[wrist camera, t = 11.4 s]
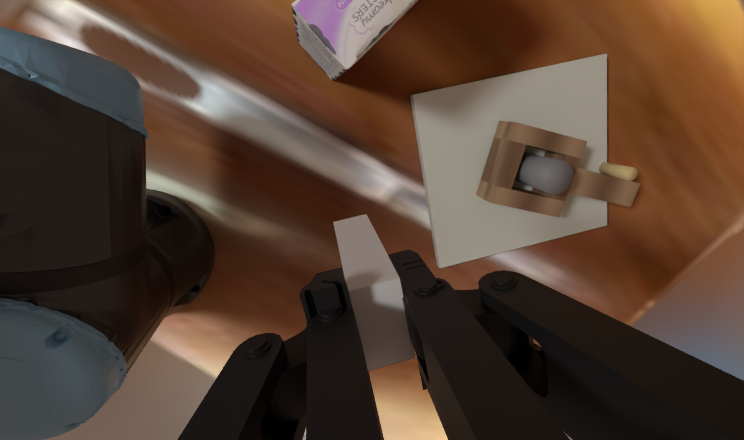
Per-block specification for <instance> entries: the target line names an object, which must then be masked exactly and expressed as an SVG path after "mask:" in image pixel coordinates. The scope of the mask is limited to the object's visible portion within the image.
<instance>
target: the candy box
mask: <svg viewBox="0 0 744 440" xmlns="http://www.w3.org/2000/svg"><path fill="white" fill-rule="evenodd" d="M417 1H418V0H296V1H295V2H294V3H293V4H292V10H293V16H294V22H295V27H296V33H297V39H298V42H299V44H300V45H301V46H302V47H303V48H304V49H305V51H306V52H307V53H308V54H309V55H310V56H311V57H312V58H313V59H314V60H315V62H316V63H317V64H318V65H319V66H320V67H321V69H322V70H323V71H324V72H325V73H326V74H327V75H328V76H329V78H330V79H331V80H336V79H337V78H338V77H339V76H340V75H342V74H343V73H345V72H346V71H347V70H348V69H349V68H351V67H352V66H353V65H354V64H355V63H356V62H357V61H358V60H359V59H360V58H361V57H362V56H363V55H364V54H365V53H366V52H367V51H368V50H369V49H370V48H371V47H372V46H373V45H374V44H375V43H376V42H377V41H378V40H380V39H381V38H382V37H383V36H384V35H385V34H386V33H387V31H388V30H389V29H390V28H391V27H392V26H393V25H394V24H395V23H396V22H397V21H398V20H399V19H400V18H401V17H402V16H403V15H404V14H405V13H406V12H407V11H408V10H409V9H410V8H411V7H412V6H413V5H414V4H415V3H416V2H417Z"/></svg>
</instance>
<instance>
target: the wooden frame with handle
mask: <svg viewBox="0 0 744 440" xmlns="http://www.w3.org/2000/svg"><path fill="white" fill-rule="evenodd" d="M586 144H587V141H584V140H581V139H577V138H573V137H570V136H566V135H562V134H558V133H555V132H551V131H547V130H544V129H540V128H536V127H532V126H529V125H525V124H521V123H518V122H508V121H499V123H498V126H497V129H496V132H495V135H494V139H493V142H492V145H491V148H490V151H489V154H488V158H487V161H486V164H485V167H484V170H483V174H482V177H481V180H480V183H479V186H478V190H477V193H476V195H477V196H479V197H480V198H482V199H484V200H486V201H488V202H490V203H493V204H498V205H503V206H507V207H512V208H517V209H521V210H526V211H531V212H535V213H540V214H545V215H549V216H554V217H559V216H560V213H561V211H562V208H563V205H564V203H565V200H566V197H567V195H568V193H572V194H576V195H580V196H585V197H589V198H593V199H597V200H602V201H606V202H610V203H615V204H619V205H623V206H628V207H631V205H632V203H633V200H634V198H635V196H636V193H637V191H638V189H639V186H640V183H636V182H632V181H628V180H624V179H620V178H616V177H612V176H608V175H604V174H600V173H596V172H592V171H588V170H584V169H580V168H578V165H579V163H580V160H581V157H582V155H583V152H584V149H585V147H586ZM526 146H529V147H533V148H537V149H541V150H545V154H544V157H548V158H552V159H557V160H561V161H565V162H567V163H569V164H570V166H571V167H572V169H573V180H572V183H571V185H570V186H569V187H568V188H567V189H566V190H565V191H564V192H562V193H560V194H550V193H547V192H544V191H542V190H539V189H536V188H534V187H533V188H532V191H529V190H525V189H520V188H516V187H512V186H513V183H514V180H515V177H516V174H517V171H518V168H519V165H520V162H521V159H522V156H523V153H524V150H525V147H526Z"/></svg>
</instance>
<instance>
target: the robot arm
mask: <svg viewBox="0 0 744 440" xmlns="http://www.w3.org/2000/svg"><path fill="white" fill-rule="evenodd" d="M145 139H148V131H147V130H146V129H145V126H144V111H143V96H142V90H141V87H140V85H139V83H138V81H137V80H136V78H135V77H134V76H133V75H132V74H131V73H130V72H129V71H128V70H126V69H125V68H123V67H122V66H120V65H118V64H116V63H114V62H112V61H109V60H107V59H104V58H102V57H99V56H96V55H93V54H90V53H87V52H84V51H81V50H78V49H75V48H72V47H69V46H66V45H63V44H59V43H56V42H53V41H50V40H46V39H43V38H39V37H36V36H33V35H29V34H26V33H22V32H19V31H15V30H11V29H7V28H3V27H0V440H42V439H47V438H51V437H55V436H58V435H61V434H63V433H66V432H68V431H71V430H73V429H75V428H77V427H78V426H79V425H81V424H82V423H85V422H86V421H87V420H88V419H90V418H91V417H92V416H94V415H95V413H97V412H98V411H99V409H100V408H101V407H102V406H103V405H104V404H105V403H106V402H107V400H108V399H109V398H110V397H111V396H112V395H113V394H114V393H115V392H116V391H117V390H118V389H119V388H120V386H121V385H122V384H123V382H124V379H125V378H126V374H127V373H128V371H129V370H130V368H131V367H132V365H133V364H134V362H135V361H136V359H137V358H138V356H139V355H140V353H141V352H142V350H143V349H144V347H145V346H146V344H147V343H148V341H149V340H150V338H151V337H152V335H153V334H154V332H155V331H156V329H157V328H158V326H159V325H160V323H161V322H162V320H163V319H164V318H165V317H167V316H169V315H171V314H173V313H175V312H177V311H179V310H180V309H182V308H184V307H185V306H187V305H188V304H189V303H190V302H192V301H193V300H194V299H195V298H196V297H197V296H198V294H199V293H200V292H201V290H202V289H203V287H204V286H205V284H206V282H207V280H208V279H209V277H210V274H211V272H212V269H213V264H214V246H213V241H212V238H211V235H210V233H209V231H208V229H207V227H206V225H205V224H204V222H203V221H202V219H201V218H200V217H199V216H198V215H197V214H196V213H195V212H194V211H193V210H192V209H191V208H190V207H189V206H187V205H186V204H185V203H183V202H182V201H180V200H178V199H176V198H175V197H172V196H170V195H168V194H165V193H162V192H159V191H155V190H149V189H146V144H145ZM333 223H334V228H335V233H336V238H337V243H338V248H339V253H340V258H341V263H342V268H338V269H334V270H330V271H326V272H322V273H318V274H316V275H315V277H314V278H313V280H312V281H311V283H310V284H308V285H306V286H305V287H304V288H303V289H302V290H301V292H300V299H301V302H302V305H303V309H304V312H305V316H306V319H307V327H306V328H305V329H304V330H303V331H302V332H300V333H299V334H297V335H296V336H294V337H292V338H290V339H288V340H286V341H283V340H282V338H281V337H280V335H277V334H275V333H264V334H260V335H255V336H253V337H251V338H249V339H247V340H246V341H244V342H243V343H242V344H240V345H239V346H238V347H237V348H236V349H235V350H234V352H233V353H232V355H231V356H230V358H229V359H228V361H227V363H226V364H225V366H224V367H223V369H222V371H221V372H220V374H219V375H218V377H217V378H216V380H215V382H214V383H213V385H212V386H211V388H210V389H209V391H208V393H207V394H206V396H205V397H204V399H203V401H202V402H201V404H200V405H199V407H198V408H197V410H196V411H195V413H194V415H193V416H192V418H191V419H190V421H189V423H188V424H187V426H186V427H185V429H184V430H183V432H182V434H181V435H180V437H179V438H178V440H302V439H303V436H304V432H305V429H306V440H384V438H383V433H382V429H381V425H380V420H379V416H378V411H377V407H376V402H375V398H374V394H373V389H372V385H371V381H370V376H369V372H368V371H370V370H373V369H377V368H380V367H384V366H388V365H391V364H395V363H399V362H402V361H406V360H409V359H413V358H415V354H414V350H415V352H416V355H417V360H418V365H419V370H420V375H421V381H422V386H423V390H425V389H428V391H429V394H430V396H431V399H432V401H433V404H434V406H435V408H436V411H437V413H438V416H439V418H440V421H441V423H442V425H443V428H444V430H445V433H446V435H447V438H448V440H570V439H569V438H568V437H567V436H566V434H567V435H568V436H569V437H571V438H572V439H573V440H744V381H743V380H741V379H739V378H736V377H735V376H733V375H730V374H728V373H726V372H724V371H722V370H720V369H718V368H716V367H714V366H712V365H709V364H708V363H705V362H703V361H701V360H699V359H697V358H695V357H693V356H691V355H689V354H687V353H685V352H683V351H680V350H678V349H676V348H674V347H672V346H670V345H668V344H666V343H664V342H662V341H660V340H658V339H655V338H653V337H651V336H649V335H647V334H645V333H643V332H641V331H639V330H636V329H635V328H633V327H631V326H629V325H626V324H624V323H622V322H620V321H618V320H616V319H614V318H612V317H610V316H608V315H606V314H604V313H601V312H599V311H597V310H595V309H593V308H591V307H589V306H587V305H585V304H583V303H581V302H579V301H576V300H574V299H572V298H570V297H568V296H566V295H564V294H562V293H560V292H558V291H556V290H554V289H552V288H549V287H547V286H545V285H543V284H541V283H539V282H537V281H535V280H533V279H531V278H529V277H527V276H524V275H522V274H520V273H516V272H512V271H505V270H503V271H495V272H492V273H489V274H486V275H485V276H483V277H481V279H480V280H479V282H478V283H479V289H475V290H454V289H453V288H452V287H451V285H450V284H449V283H448V282H446V281H445V280H443V279H440V278H435V276H434V275H433V274H432V272H431V271H430V269H429V268H428V267H427V265H426V264H425V263H424V261H422V258H421V257H420V256H419V254H418V253H416V252H413V251H411V250H405V251H401V252H397V253H393V254H389V255H387V253H386V251H385V249H384V247H383V245H382V243H381V241H380V239H379V237H378V235H377V234H376V232H375V230H374V228H373V226H372V224H371V222H370V220H369V218H368V216H367V214H365V215H360V216H356V217H352V218H348V219H344V220H339V221H335V222H333ZM533 339H535V340H536V341H537V342H538V343H539V344H540V346H541V347H540V346H538V345H537V344H535V343H534V342H533ZM413 347H414V349H413ZM563 431H564V432H565V433H566V434H565V433H564V432H563Z"/></svg>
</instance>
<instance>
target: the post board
mask: <svg viewBox="0 0 744 440" xmlns="http://www.w3.org/2000/svg"><path fill="white" fill-rule="evenodd" d="M410 98H411V105H412V111H413V117H414V124H415V130H416V136H417V143H418V149H419V155H420V161H421V168H422V174H423V180H424V187H425V193H426V199H427V206H428V212H429V218H430V225H431V231H432V237H433V243H434V250H435V256H436V262H437V265H438V267H439V268H443V267H447V266H451V265H455V264H459V263H462V262H466V261H470V260H474V259H478V258H482V257H486V256H490V255H494V254H498V253H501V252H505V251H509V250H513V249H517V248H521V247H525V246H529V245H533V244H537V243H540V242H544V241H548V240H552V239H556V238H560V237H564V236H568V235H572V234H576V233H579V232H583V231H587V230H591V229H595V228H599V227H603V226H607V202H606V201H602V200H597V199H593V198H589V197H585V196H580V195H576V194H572V193H568V195H567V197H566V200H565V203H564V205H563V208H562V211H561V213H560V216H559V217H554V216H549V215H545V214H540V213H535V212H531V211H526V210H521V209H517V208H512V207H507V206H503V205H498V204H493V203H490V202H488V201H486V200H484V199H482V198H480V197H479V196H477V195H476V193H477V190H478V186H479V183H480V180H481V177H482V174H483V170H484V167H485V164H486V161H487V158H488V154H489V151H490V148H491V145H492V142H493V139H494V135H495V132H496V129H497V126H498V123H499V121H508V122H518V123H521V124H525V125H529V126H532V127H536V128H540V129H544V130H547V131H551V132H555V133H558V134H562V135H566V136H570V137H573V138H577V139H581V140H584V141H587V144H586V147H585V149H584V152H583V155H582V157H581V160H580V163H579V165H578V168H580V169H584V170H588V171H592V172H596V173H600V174H604V175H608V176H612V177H616V178H620V179H624V180H628V181H632V180H634V179H635V178H636V177H637V174H638V171H637V169H636V168H633V167H628V166H623V165H618V164H613V163H608V162H607V54H602V55H597V56H592V57H588V58H583V59H578V60H574V61H569V62H564V63H559V64H555V65H550V66H545V67H541V68H536V69H531V70H527V71H522V72H517V73H512V74H508V75H503V76H498V77H494V78H489V79H484V80H479V81H475V82H470V83H465V84H461V85H456V86H451V87H447V88H442V89H437V90H432V91H428V92H423V93H418V94H414V95H410ZM544 154H545V150H541V149H537V148H533V147H529V146H526V147H525V150H524V153H523V156H522V159H521V162H520V165H519V168H518V171H517V174H516V177H515V180H514V183H513V186H512V187H516V188H520V189H525V190H529V191H532V188H533V187H534V188H536V189H539V190H542V191H544V192H547V193H550V194H560V193H562V192H564V191H565V190H566V189H567V188H568V187H569V186H570V185H571V183H572V180H573V169H572V167H571V166H570V164H569V163H567V162H565V161H561V160H557V159H552V158H548V157H544Z"/></svg>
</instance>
